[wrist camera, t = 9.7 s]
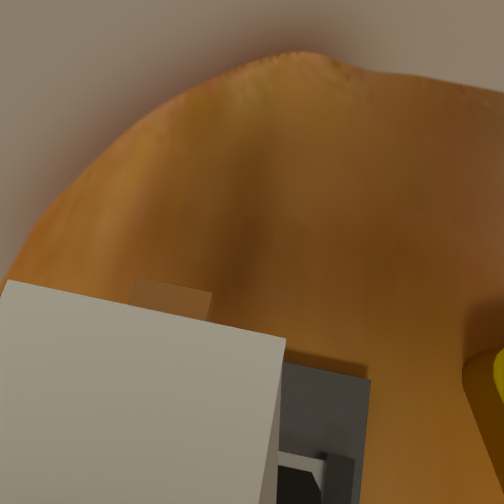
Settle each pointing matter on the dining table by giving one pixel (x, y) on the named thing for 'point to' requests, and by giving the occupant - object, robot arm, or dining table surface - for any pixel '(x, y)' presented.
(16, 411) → the block
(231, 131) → the dining table surface
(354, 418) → the mounting plate
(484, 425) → the element tile
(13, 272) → the dining table surface
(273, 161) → the dining table surface
